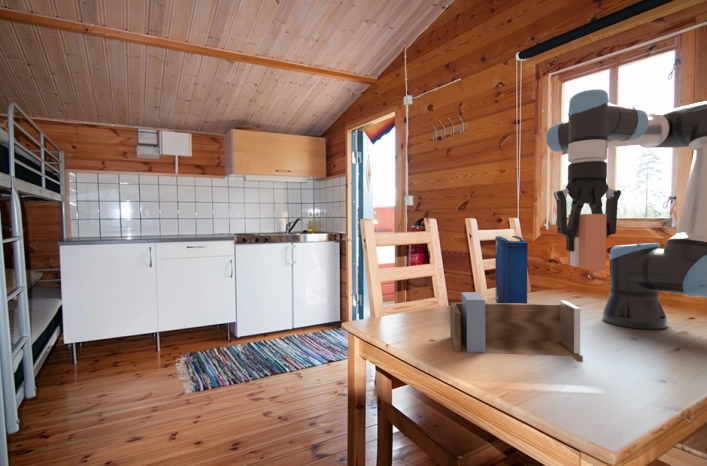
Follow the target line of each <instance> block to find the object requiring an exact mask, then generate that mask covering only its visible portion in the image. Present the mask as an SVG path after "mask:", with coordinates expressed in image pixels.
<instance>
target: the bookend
mask: <svg viewBox="0 0 707 466" xmlns="http://www.w3.org/2000/svg"><path fill="white" fill-rule="evenodd" d="M559 304H560V342H561V343H562V344H564V345H565V346H566V347H567V348H568V349H570V350H571V351H572V352H573V353H579V354H581V308H580V307H578V306H576V305H575V304H573V303H571V302H569V301H567V300H565V299H564V300H559Z"/></svg>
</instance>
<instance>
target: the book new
mask: <svg viewBox="0 0 707 466" xmlns="http://www.w3.org/2000/svg"><path fill="white" fill-rule="evenodd" d="M569 217H570V214H567V222H568V221H569ZM606 218H607V214H606V213H603V214H592V213H583V214H582V213H581V214H579V223H578V227H577V231H576V235H575V237H578V238H579V267H577V268H579V269H581V270H587V271H589V270H590V271H593V270H595V271H604V270H605V271H606V269H607V266H606V264H607V263H606V262H607V260H606V257H607V237H606ZM567 265H568V266H570V267H572V266H571V265H570V251H567ZM573 268H576V267H575V266H573Z"/></svg>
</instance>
